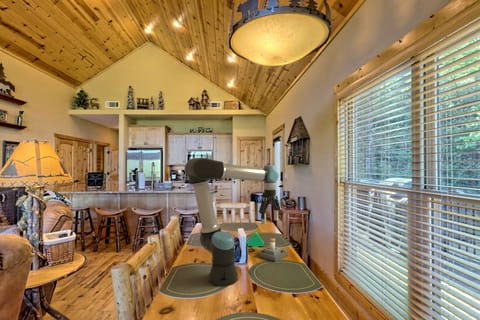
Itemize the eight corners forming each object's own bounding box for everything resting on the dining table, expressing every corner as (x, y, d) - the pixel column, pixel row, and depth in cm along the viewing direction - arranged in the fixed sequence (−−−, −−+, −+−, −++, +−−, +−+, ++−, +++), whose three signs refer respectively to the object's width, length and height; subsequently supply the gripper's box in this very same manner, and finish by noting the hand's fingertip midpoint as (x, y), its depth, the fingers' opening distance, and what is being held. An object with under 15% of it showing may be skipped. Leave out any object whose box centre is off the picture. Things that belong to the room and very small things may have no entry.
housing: (275, 262, 156) (275, 254, 156) (257, 256, 165) (257, 248, 165) (287, 255, 166) (287, 247, 166) (269, 250, 175) (269, 243, 175)
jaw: (272, 255, 163) (272, 240, 163) (268, 254, 165) (268, 238, 166) (276, 254, 166) (276, 238, 166) (271, 253, 168) (271, 237, 168)
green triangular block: (263, 243, 190) (263, 230, 190) (263, 247, 182) (263, 233, 182) (247, 243, 191) (247, 230, 191) (247, 247, 183) (246, 233, 183)
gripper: (262, 191, 154) (262, 226, 153) (285, 188, 172) (285, 219, 172) (253, 190, 159) (253, 224, 158) (276, 187, 177) (276, 217, 177)
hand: (270, 222), depth 165 cm, fingers open, 13 cm apart
